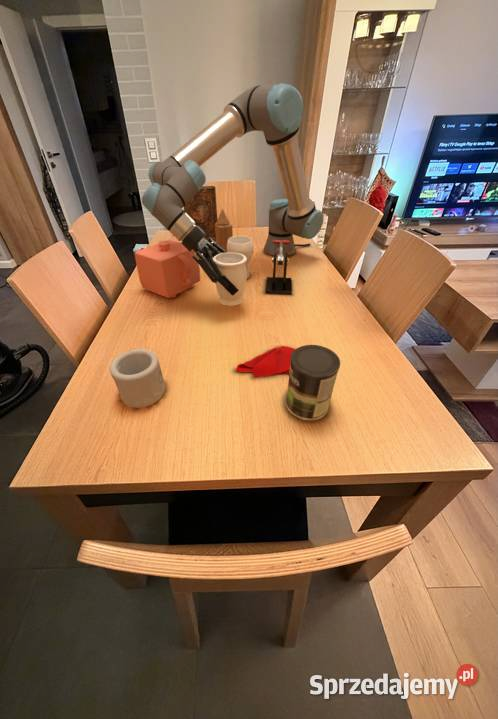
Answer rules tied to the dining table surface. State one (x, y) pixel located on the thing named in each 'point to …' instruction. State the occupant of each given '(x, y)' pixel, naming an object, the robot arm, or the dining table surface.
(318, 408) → the coffee can
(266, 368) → the cloth
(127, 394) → the grey hollow cylinder
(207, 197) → the book
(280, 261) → the corkscrew
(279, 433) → the dining table surface
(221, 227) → the decorative item
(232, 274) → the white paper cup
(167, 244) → the teapot
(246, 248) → the cup
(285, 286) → the lever stand
